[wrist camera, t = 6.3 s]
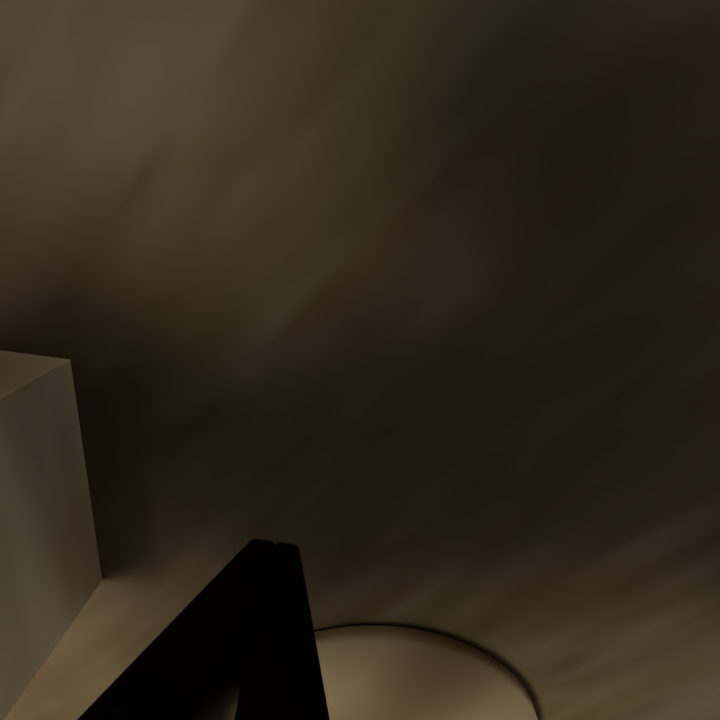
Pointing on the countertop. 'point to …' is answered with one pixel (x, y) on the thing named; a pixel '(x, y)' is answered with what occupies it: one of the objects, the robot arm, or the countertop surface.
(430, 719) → the cork coaster
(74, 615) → the maple block
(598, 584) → the countertop surface
